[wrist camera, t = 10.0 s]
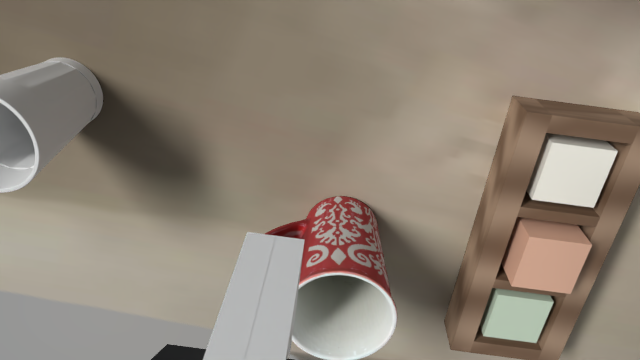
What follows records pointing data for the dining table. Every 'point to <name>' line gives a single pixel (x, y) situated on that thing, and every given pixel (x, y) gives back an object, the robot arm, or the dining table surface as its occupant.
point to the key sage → (515, 315)
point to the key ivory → (571, 170)
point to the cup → (42, 115)
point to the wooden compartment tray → (513, 201)
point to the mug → (341, 282)
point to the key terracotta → (545, 255)
